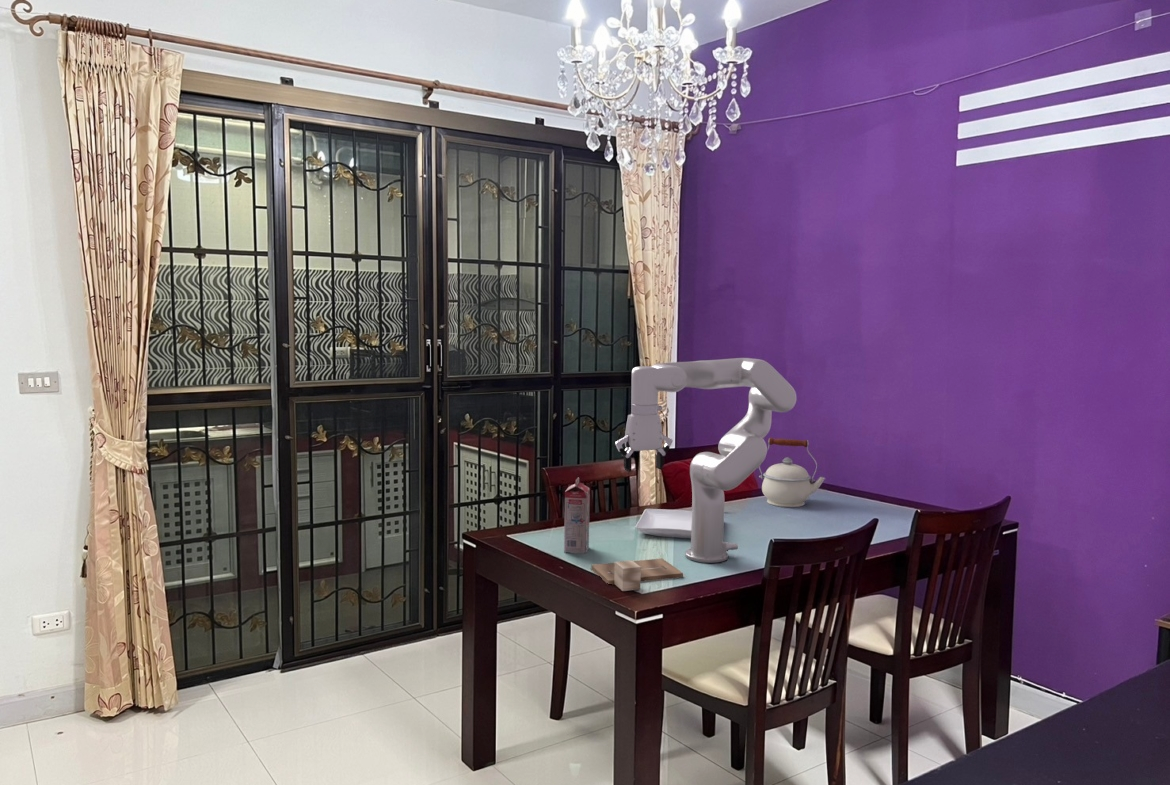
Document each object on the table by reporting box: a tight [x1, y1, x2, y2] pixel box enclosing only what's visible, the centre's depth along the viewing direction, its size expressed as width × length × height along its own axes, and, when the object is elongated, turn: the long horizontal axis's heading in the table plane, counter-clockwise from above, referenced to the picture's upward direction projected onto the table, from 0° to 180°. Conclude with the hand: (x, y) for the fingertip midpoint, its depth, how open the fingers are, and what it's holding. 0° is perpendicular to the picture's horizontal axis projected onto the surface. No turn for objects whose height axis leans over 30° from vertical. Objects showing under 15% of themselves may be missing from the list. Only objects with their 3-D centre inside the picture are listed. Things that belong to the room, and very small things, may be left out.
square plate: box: [634, 508, 692, 539], centre depth 280 cm, size 27×27×4 cm
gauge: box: [613, 560, 641, 592], centre depth 224 cm, size 5×12×6 cm, turn 19°
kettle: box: [758, 437, 826, 508], centre depth 319 cm, size 25×18×25 cm
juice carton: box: [563, 476, 591, 554], centre depth 254 cm, size 7×7×22 cm
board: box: [590, 558, 684, 585], centre depth 233 cm, size 22×14×1 cm, turn 109°
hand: (643, 469), depth 237 cm, fingers open, 9 cm apart
